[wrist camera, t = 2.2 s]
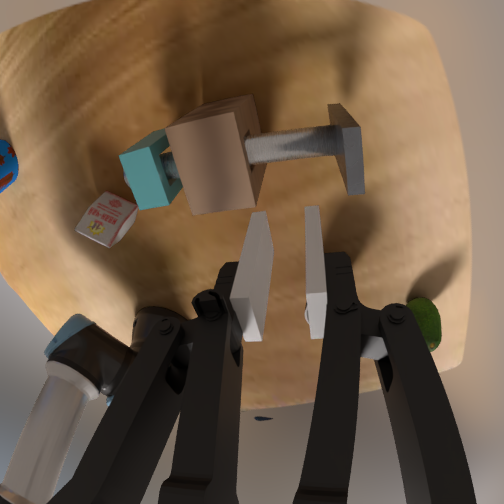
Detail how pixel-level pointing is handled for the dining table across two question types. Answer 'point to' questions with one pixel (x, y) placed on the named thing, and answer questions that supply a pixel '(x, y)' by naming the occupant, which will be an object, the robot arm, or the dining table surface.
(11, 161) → the thermos
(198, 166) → the bearing block
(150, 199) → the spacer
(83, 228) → the white paper food packet
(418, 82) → the dining table surface
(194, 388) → the robot arm
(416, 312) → the avocado
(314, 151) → the shaft
